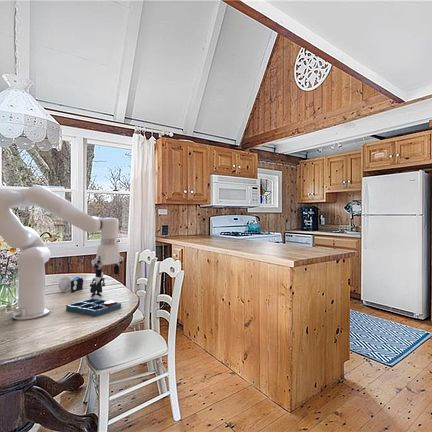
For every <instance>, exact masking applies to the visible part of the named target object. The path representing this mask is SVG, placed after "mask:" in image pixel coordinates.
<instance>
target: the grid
mask: <svg viewBox="0 0 432 432" xmlns="http://www.w3.org/2000/svg"><path fill="white" fill-rule="evenodd" d="M106 301H107V299H106V300H105V299H100V298H94V297H91V298H88V299H84V300H81V301H77V302H74V303H69V304H66V305H65V311H66V312H70V313H71V312H72V313H77V314H81V315H86V316H90V317H94V318H95V317H98V316H102V315H105V314H108V313H112V312H114V311H117V310H120V309H122V302H117V301H115V305H112V306H109V307H108V306H104V302H106Z"/></svg>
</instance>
